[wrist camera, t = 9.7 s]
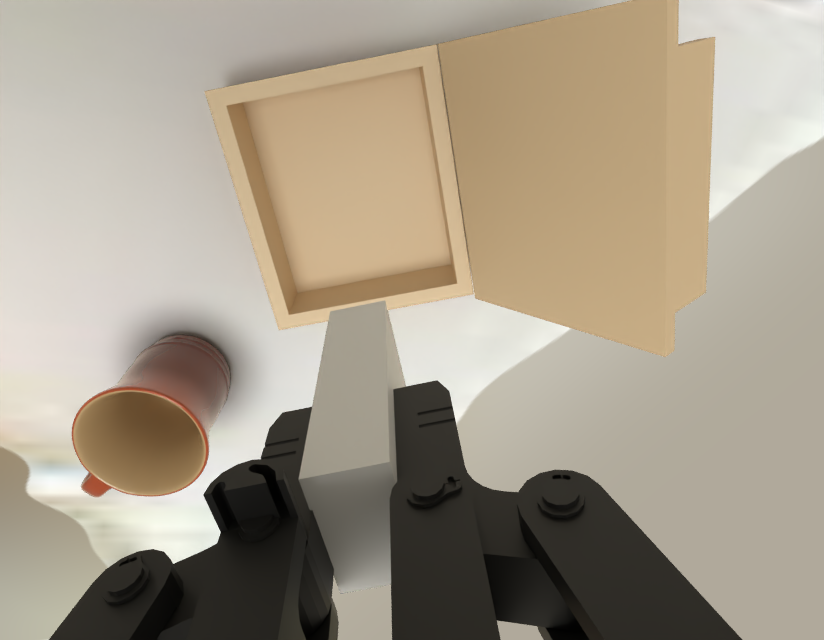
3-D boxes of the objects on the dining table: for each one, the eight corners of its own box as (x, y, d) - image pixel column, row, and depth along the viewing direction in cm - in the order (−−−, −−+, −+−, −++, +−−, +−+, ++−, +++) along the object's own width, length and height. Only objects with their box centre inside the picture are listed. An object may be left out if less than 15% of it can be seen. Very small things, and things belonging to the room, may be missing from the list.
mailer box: (226, 88, 38) (204, 91, 34) (430, 46, 38) (436, 44, 33) (289, 303, 45) (278, 330, 40) (464, 270, 44) (473, 294, 40)
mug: (178, 299, 44) (122, 362, 35) (265, 369, 47) (235, 444, 38) (89, 393, 47) (17, 474, 38) (176, 453, 50) (128, 542, 41)
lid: (666, -8, 22) (719, -17, 23) (437, 43, 32) (486, 34, 34) (665, 357, 28) (706, 327, 30) (475, 298, 39) (514, 279, 41)
